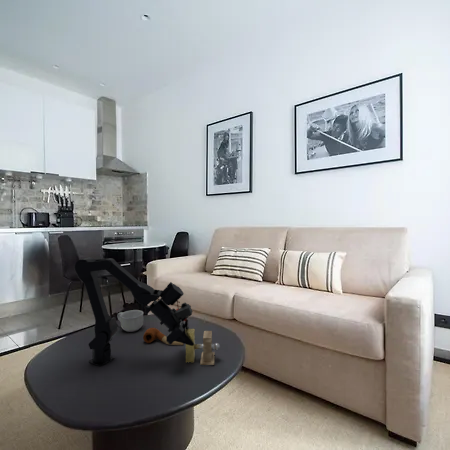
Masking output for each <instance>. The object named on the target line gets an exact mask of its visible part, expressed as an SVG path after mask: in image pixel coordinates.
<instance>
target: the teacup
mask: <svg viewBox="0 0 450 450" xmlns="http://www.w3.org/2000/svg"><path fill="white" fill-rule="evenodd" d="M116 318H117V320H118V321H119V322H120V326H121V328H122V329H123V331H125V332H127V333H129V332H130V333H133V332H137V331H138V330H140V329H141V328H142V326H143V324H144V311H143V310H139V309H133V310H126V311H124V312H122V311H120V312H118V313H117V317H116Z"/></svg>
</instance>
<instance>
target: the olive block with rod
mask: <svg viewBox="0 0 450 450" xmlns="http://www.w3.org/2000/svg"><path fill="white" fill-rule="evenodd" d="M186 333H187V334H188V336H189V337H190V338H191V340H192V341H193V342H194V345H193V346H190V345H187V344H185V363H187V362H188V363H189V362H191V363H195V357H196V352H195V351H196V350H203V343H196V338H195V337H196V336H195V335H196V330H195V328H189V329H187V330H186ZM211 347H212V350H216V351H218V350H219V349H220V348H221V345H220V343H218V342H215V343H212V344H211Z"/></svg>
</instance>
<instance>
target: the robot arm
mask: <svg viewBox="0 0 450 450" xmlns="http://www.w3.org/2000/svg"><path fill="white" fill-rule="evenodd" d="M73 270H74V271H75V273H76V275H77V278H78V279H79V280H80V281H81V282H82V283H83V285H84V287H85V290H86V293H87V297H88V300H89V301H88V302H89V304H90V306H91V309H92V310H91V311H92V314H93V316H94V321H95V324H94V337H93V339H92V340H91V341H90V342H89V343H88V348H89V350H92V352H91V353H92V355H91V356H92V359H90V360H88V363H90V364H92V365H95V366H97V367H102V366H103V365H104V364H105V365H106V364H107V363H109V362H111V361H113V360H115V357H113V356H112V349H111V343H110V342H111V341H112V340H113V338H114V337H115V336H116V335H117V333H118V328H119V324H118V322H117V317H116V316H114V317H112V316H111V315H109V312H108V309H107V305H106V302H105V299H104V295H103V293H102V289H101V285H100V282H99V279H98V278H99V271H106V272H107V273H109V274H110V275H112V277H113V278H115V279H116V280H117V281H119V282H120V283H121V284H122V285H123V286H124V287H126V288H127V289H128V290H129V291H130V293H131V295H132V297H133V298H134V299H135V300H136V302H137V303H138V304H139V305H141V306H145V307H144V309H145V310H144V315H148V314H149V313H150V312H151V313H152V314H153V315H154V316H155V317H156V318H157V319H158V320H159V321H160V322H159V324H160V325H164V326H165V328H167V332H168V333H167V335H166V341H167V342H168V343H169V344H170V345H169V344H168V345H169V346H172V345H171V344H172V343H173V342H175V341H176V342H180V343H184V345H186V344H187V345H190V346H193V345H194V342H193V341H192V340H191V338H190V337H189V336H188V334H187V333H186V330H187V329H190V327H189V319H188V318H189V317H191V316H192V314H193V311H194V310H192V306H191V304H190V303H187V302H183V303H181V306H180V307H179V309H178V308H177V309H178V310H176V309H175V308H171V307H170V306H174V305H175V304H177V301H178V302H179V300H180V299H181V298H182V297H183V296H184V291H183V290H182V289H181V288H180V286H178V285H176V284H175V283H172V281H170V282H168V284H167V286H166V287H165V288H164V289H163V290H161V289H154V288H153V287H152V286H150V285H149V284H147V283H145V282H142V281H140V280H138V279H136V277H135V276H134V275H132V273H130V272H129V271H128V270H126V269H125V268H124V267H123V266H122V265H120V264H119V263H118V262H117V261H116V260H115V258H112V257H111V258H109V257H108V258H97V259H95V258H93V257H86V258H81V259H78V260H77V261H76V262H75V264H74V265H73ZM150 303H151V304H150ZM185 319H187V321H186V322H185V321H184V320H185Z"/></svg>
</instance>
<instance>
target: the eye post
mask: <svg viewBox="0 0 450 450" xmlns="http://www.w3.org/2000/svg"><path fill="white" fill-rule="evenodd" d="M212 331H213V330H204V331H203V337H202V344H203V349H202V352H201V357H200V363H199V366H200V365H214V366H215V356H214V355H215V353H216V352H215V351H213V349H212V347H211V344H213V332H212Z"/></svg>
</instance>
